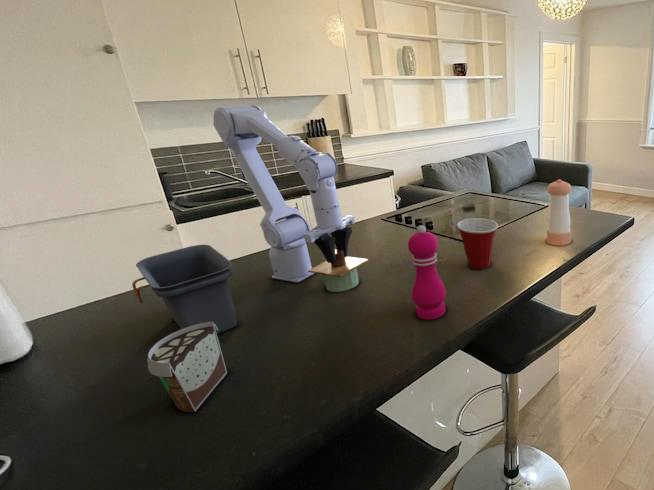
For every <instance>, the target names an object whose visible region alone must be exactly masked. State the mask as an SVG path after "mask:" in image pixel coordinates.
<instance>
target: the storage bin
mask: <svg viewBox="0 0 654 490" xmlns="http://www.w3.org/2000/svg"><path fill="white" fill-rule="evenodd" d="M135 266H136V268H137V269H138V270H139V272H140V274H141V276H142V277H140V278H137V279H135V280H134V281H132V285H131V286H132V289H133V291H134V294H135V295H134V296H135V297H136V300H137V301H138V303H139V304H142V303H143V299H142V295H141V293H140V290H142V289H145V288H151V290H152V291H153V292H154V293H155V295H156V296H157V297H160V298H162V300H163V303H164V304H165V306H166V308H167V310H168V312H169V314H170V316H171V317H172V318H173V320H174V321H175V322H176V324H177V325H178V327H179V328H180V330H181V329H184V328H187V327H190V326H193V325H196V324H201V323H206V322H214V324H215V325H216V326H217V328H218V331H216V333H217V335H218V334H221V333H223V332H225V331H228V330H231V329H233V328H235V327H236V326H237V325H238V319H237V315H236V310H235V306H234V302H233V297H232V293H231V290H230V285H229V281H228V279H229V278H231V277H232V275H233V271H232V269H231V267H232V266H233V263H232V262H231V260H229V259H228V258H227V257H225V256H224V255H223V254H222V253H221V252H219V251H218V250H217V249H215V248H214V247H213V246H211V245H209V244H197V245H190V246H186V247H182V248H179V249H175V250H170V251H167V252H163V253H160V254H155V255H152V256H148V257H146V258H143V259H141V260H139V261H137V262H136V263H135ZM143 280H145V281H146V282H147V283H148V284H146V285H141V286H139V287H137V286H136V285H137V282H140V281H143Z"/></svg>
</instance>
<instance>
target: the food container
mask: <svg viewBox="0 0 654 490" xmlns="http://www.w3.org/2000/svg"><path fill="white" fill-rule="evenodd" d="M216 331H218V328H217V326H216V325H215V324H214V322H206V323H201V324H196V325H193V326H190V327H187V328H184V329H181V328H180V329H179V330H176V331H175V332H172V333H170V334H168V335H167V336H165V337H163V338H162V339H160V340H158V341H157V342H155V344H154V345H153V346H152V347H151V348H150V349H149V351H148V353H147V359H146V362H147V369H148V372H149V373H150V374H151V375H153V376H156V377H158V378H159V379H160V381H161V383H162V384H163V386H164V388H165V390H166V391H167V393H168V394H169V396H170V398H171V401H173V403H174V405H175V406H176V408H177V409H178V410H180V411H182V412H186V413H195V412H197V410H198V409H199V408H200V407H201V405H202V404H203V403H204V402H205V401H206V399H207V398H208V397H209V395H210V394H211V393H212V392H213V391H214V390H215V389H216V387H217V386H218V385H219V383H220V382H221V381H222V380H223V379H224V378H225V376H226V375H227V374H228V370H227V366H226V364H225V360H224V356H223V352H222V347H221V345H220V341H219V337H218V334H217V333H216Z"/></svg>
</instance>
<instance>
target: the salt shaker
mask: <svg viewBox="0 0 654 490" xmlns="http://www.w3.org/2000/svg"><path fill="white" fill-rule="evenodd" d="M546 190H547V193H548V194H549V211H548V217H547V229H546V243H548V245H552V246H566V245H569V244H571V242H572V230H571V216H570V215H571V214H570V209H569V206H570V205H569V204H570V203H569V201H570V199H569V198H570V197H569V196H570V194H571V192H572V190H573V189H572V185H571V184H570V183H568V182H566V181H564V180H562V179H559V178H557V179H556V181H553V182H551V183H549V184H548V186H547V188H546Z"/></svg>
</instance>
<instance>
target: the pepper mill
mask: <svg viewBox="0 0 654 490" xmlns="http://www.w3.org/2000/svg"><path fill="white" fill-rule="evenodd" d="M426 230H427V229H426V227H425V225H423V224H421V225H420V224H419V225H418V226H417V227H416V232H415V233H413V234H412V235H411V236H410V237H409V239H408V243H407V247H408V251H409V253H410V254H411V255H412V257H411V258H412V264H413V265H414V266H415V280H414V283H413V286H412V289H411V299H412V302H413V303H414V304H415V311H416V316H417V317H418V318H419V319H421V320H425V321H426V320H427V321H429V320H430V321H431V320H435V319H438V318H441V317H442V316H444V314H445V313H446V311H447V309H446V303H445V299H446V297H447V291H446V290H447V289H446V287H445V284H444V282H443V281H442V279H441V277H440V276H439V274H438V273H439V272H438V271H437V267H436V266H437V265H436V264H437V263H436V262H438V257H437V256H438V254H437V250H438V248H439V243H438V242H439V241H438V239H437V237H436V235H435V234H434V233H432V232H430V231H426Z"/></svg>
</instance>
